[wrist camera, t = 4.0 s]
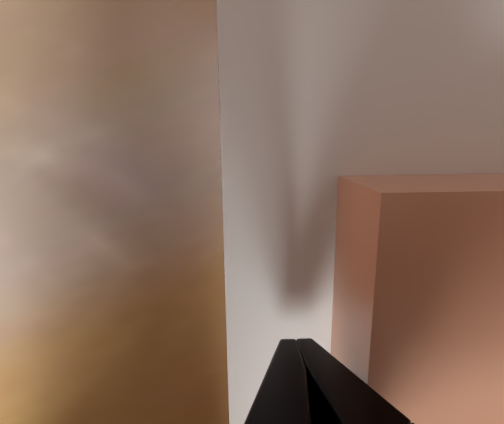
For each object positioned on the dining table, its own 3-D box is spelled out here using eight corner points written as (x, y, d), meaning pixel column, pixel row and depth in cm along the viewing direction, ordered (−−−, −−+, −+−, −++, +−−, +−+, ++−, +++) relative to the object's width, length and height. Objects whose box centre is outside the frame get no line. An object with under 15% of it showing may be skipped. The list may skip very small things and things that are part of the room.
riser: (525, 482, 16) (615, 592, 12) (237, 491, 16) (235, 607, 12) (631, -30, 11) (833, -118, 7) (223, -29, 11) (212, -120, 7)
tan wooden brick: (541, 450, 11) (641, 556, 8) (326, 456, 11) (354, 567, 8) (600, 171, 9) (761, 186, 6) (338, 175, 9) (381, 192, 6)
